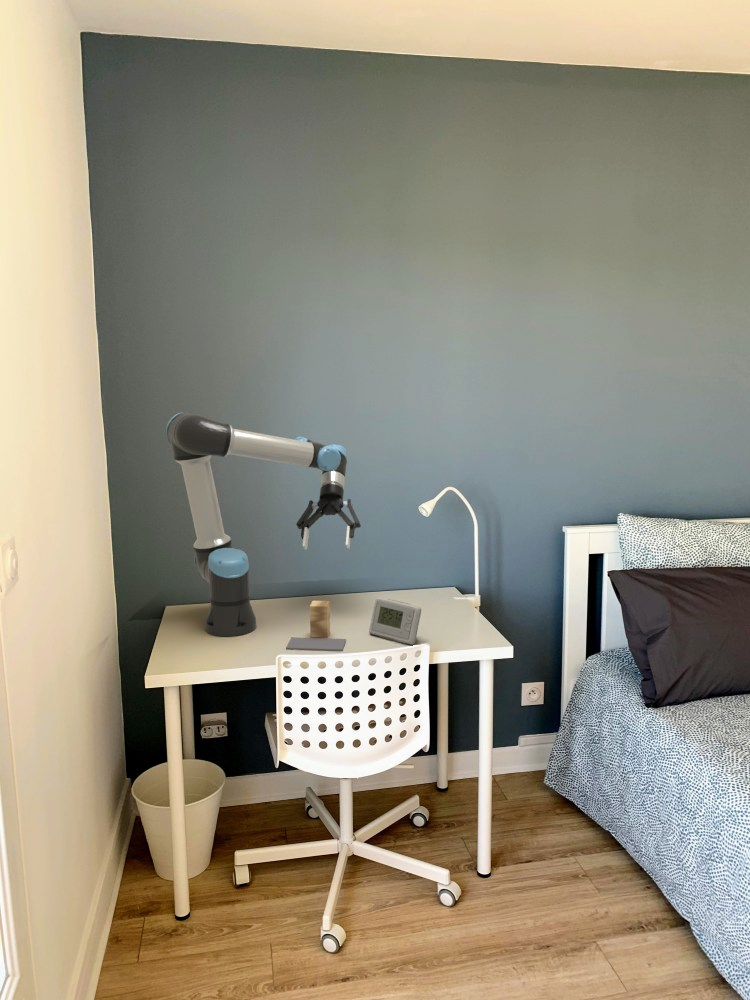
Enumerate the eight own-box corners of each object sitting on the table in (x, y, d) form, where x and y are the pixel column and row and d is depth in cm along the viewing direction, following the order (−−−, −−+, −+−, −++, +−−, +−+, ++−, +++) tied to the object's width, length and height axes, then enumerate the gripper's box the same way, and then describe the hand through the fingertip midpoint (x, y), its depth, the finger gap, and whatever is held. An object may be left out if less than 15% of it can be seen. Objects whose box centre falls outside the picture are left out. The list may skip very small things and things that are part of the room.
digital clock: (366, 633, 228) (365, 599, 226) (388, 626, 234) (388, 593, 232) (404, 649, 216) (404, 613, 214) (426, 641, 222) (427, 606, 220)
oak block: (310, 638, 224) (309, 606, 222) (313, 632, 229) (312, 600, 227) (327, 639, 224) (326, 606, 222) (330, 633, 229) (329, 601, 227)
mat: (285, 649, 216) (285, 647, 216) (291, 638, 224) (291, 637, 224) (342, 651, 215) (342, 649, 215) (346, 640, 223) (346, 638, 223)
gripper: (372, 493, 250) (367, 551, 239) (297, 496, 254) (290, 553, 243) (368, 481, 244) (363, 540, 233) (291, 484, 248) (283, 542, 237)
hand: (326, 547), depth 238 cm, fingers open, 13 cm apart
